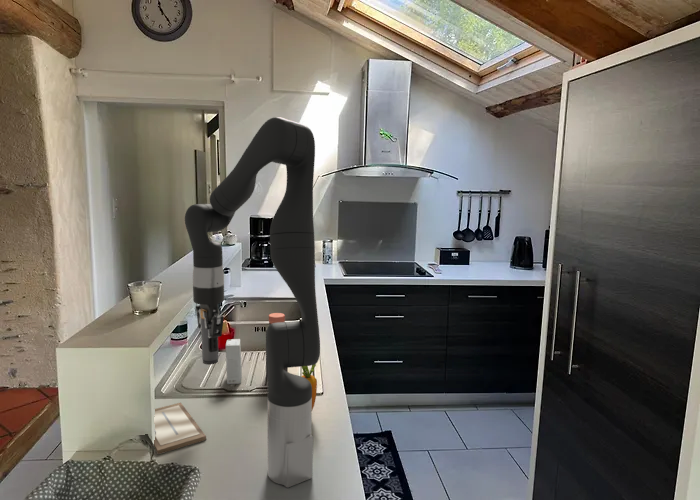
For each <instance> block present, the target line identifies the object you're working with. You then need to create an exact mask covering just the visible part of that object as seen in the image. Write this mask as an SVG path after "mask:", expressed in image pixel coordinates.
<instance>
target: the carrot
mask: <svg viewBox="0 0 700 500" xmlns="http://www.w3.org/2000/svg"><path fill="white" fill-rule="evenodd" d="M310 367H311V368H310V370H309V366H301V369H302V372H301V374H302V375H301V377H304V378H306V379H307V380H308V381H309V382H310V383H311V385H312V411H313V409H314V407H315V403H316V399H317V392H318V390H317V389H318V381H317V378H316V376H314V375H313V374H312V373H314V372H315V368H316V367H317V363H316V364H315V365H311V366H310Z"/></svg>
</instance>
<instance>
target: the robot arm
mask: <svg viewBox="0 0 700 500" xmlns="http://www.w3.org/2000/svg"><path fill="white" fill-rule="evenodd" d="M315 158H316V142H315V137H314V134H313V132H312V130H311V128H309V127H308V126H307V125H305V124H303V123H301V122H300V123H299V122H296V121H294V120H290V119H287V118H284V117H280V116H279V117H278V116H273V117H271V118H269V119H267V120H266V121H265V122H264V123H263V124H262V125H261V127H259V129H258V130H257V132H256V133H255V135H254V137H253V138H252V139H251V141H250V143H249V144H248V145H247V147H246V148H245V150H244V152H243V153H242V155H241V157H239V160H238V162H236V164H235V166H234V167H233V169H232V170H231V171H230V173H228V174H227V176H226V177H225V178H224V179H223V180H222V181H221V182H220V183H219V184H218V185H217V186H216V187H215V188H214V189H213V191H212V192H211V193H210V196H209V203H197V204H195V203H194V204H191V205H190V206H189V207H188V208H187V209H186V211H185V213H184V214H185V215H184V224H185V229H186V230H187V234H188V235H187V236H188V237H189V241H190V244H191V248H192V260H193V266H192V267H193V269H192V297H193V298H192V300H193V303H195V304H196V305H195V313H196V319H197V327H198V329H201V312H200V309H201V308H202V309H205V310H206V311H207V312H206V311H203V318H204V322H205V328H206V329H207V331H208V350H209V352H215V351H217V350H218V351H219V337H222V335H223V327H224V321H225V318H224V317H225V316H224V315H220V309H219V304H220V303H221V304H222V303H223V302H224V300H225V273H224V267H223V263H224V262H223V259H224V258H223V247H222V244H221V243H220V242H218V241H212V240H210V238H209V235H208V233H215V232H221V231H223V230H225V229H226V228H227V227H229V225H230V224H231V222H232V219H233V217H234V216H235V213H236V212H237V211H238V209H240V208H241V207H243V205H244V204H245V203H246V202H248V200H249V199H250V198H251V197H252V195H253V193H254V191H255V187H256V182H257V176H258V173H259V171H261V170H262V169H263V168H264V167H266V166H267V165H269V164H270V163H275V164H279V165H283V166H284V165H285V166H286V169H285V170H286V187H285V192H284V195H283V197H282V200H281V202H280V204H279V206H278V208H277V209H276V211H275V213H274V216H273V218H272V220H271V222H270V223H271V224H270V228H269V247H270V249H269V250H270V259H271V262H272V264H273V266H274V267H275V270H276V271H277V272H278V274H279V276H280V277H281V278H282V280H283V281H284V282H285V283H286V285H287V287H288V288H289V290H290V291H291V293H292V295H293V296H294V298H295V300H296V302H297V303H296V304H297V305H298V307H299V312H300V315H301V320H299V321H298V320H295V321H294V320H293V321H285V322H278V323H272V324H269V325H268V326H267V329H266V330H267V332H266V331H265V354H266V353H267V370H268V379H267V476H268V479H270V480H271V481H272V482H273V483H276V484H279V485H283V486H284V487H285V488H291V487H293V486H296V485H298V484H300V483H304V482H306V481H308V480H310V479H313V478H314V477H313V473H314V472H313V471H314V469H313V467H314V465H313V463H314V436H313V435H312V418H313V417H312V415H313V413H312V412H313V410H312V385H311V383H310V382H309V381H308V380H307V379H306V378H304V377H301V376H302V375H301V376H300V375H297V374H294V373H291V372H287V371H285V370H283V369H284V368H299V367H301V366H307V367H312V365H315V364H316V365H317V363H318V362H319V359H320V355H321V339H320V338H321V336H320V325H319V315H318V307H317V294H316V292H317V291H316V261H315V260H316V250H315V248H316V246H315V245H316V244H315V228H314V227H315V226H314V175H315ZM207 316H208V317H207ZM208 323H209V324H211V323H212V325H208ZM301 368H302V367H301Z"/></svg>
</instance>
